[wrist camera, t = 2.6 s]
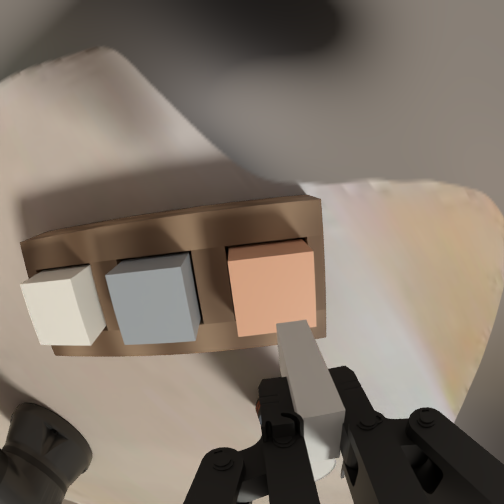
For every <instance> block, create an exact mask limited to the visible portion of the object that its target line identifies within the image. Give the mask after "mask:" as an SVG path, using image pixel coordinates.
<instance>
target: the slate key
mask: <svg viewBox="0 0 504 504" xmlns="http://www.w3.org/2000/svg"><path fill="white" fill-rule="evenodd" d="M105 277H106V281H107V285H108V289H109V293H110V297H111V300H112V304H113V308H114V311H115V315H116V318H117V322H118V325H119V328H120V332H121V335H122V338H123V341H124V344H125V345H136V344H158V343H175V342H189V341H196V337H197V332H198V328H199V324H200V319H201V315H200V310H199V304H198V299H197V294H196V288H195V282H194V277H193V271H192V265H191V259H190V253H189V252H185V253H176V254H168V255H160V256H152V257H144V258H135V259H127V260H123V261H121V262H120V263H119V264H118V265H117V266H115V267H114V268H113V269H112V270H111V271H110V272H108V273H107V274H106V275H105Z"/></svg>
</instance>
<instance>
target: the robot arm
mask: <svg viewBox="0 0 504 504" xmlns="http://www.w3.org/2000/svg"><path fill="white" fill-rule="evenodd" d="M276 328H277V340H278V352H279V364H280V371H281V376H282V377H279V378H271V379H263V380H262V382H261V384H260V386H259V388H258V389H259V399H260V410H261V420H262V424H261V430H262V436H261V439H260V440H259V441H258V442H257V443H256V444H255V445H253V446H252V447H249V448H247V449H244V450H241V451H237V450H235V449H232V448H228V447H223V448H217V449H213V450H211V451H210V452H208V453H207V454H206V455H205V456H204V458H203V459H202V461H201V464H200V466H199V468H198V471H197V473H196V475H195V478H194V480H193V482H192V485H191V487H190V489H189V492H188V494H187V496H186V498H185V501H184V503H183V504H252V501H253V500H255V499H258V498H261V497H264V496H266V495H269V502H270V504H320V501H319V497H318V493H317V489H316V485H315V480H314V476H313V472H312V468H311V464H310V463H314V462H319V461H324V460H329V459H334V458H339V456H340V450H341V453H342V456H343V464H342V470H341V478H344V475H345V477H346V480H347V483H348V486H349V489H350V492H351V495H352V499H353V502H354V504H504V464H502V463H501V462H500V461H499V460H497V459H496V458H495V457H494V456H493V455H491V454H490V453H489V452H488V451H487V450H485V449H484V448H483V447H482V446H480V445H479V444H478V443H477V442H476V441H474V440H473V439H472V438H471V437H470V436H468V435H467V434H466V433H465V432H463V431H462V430H461V429H460V428H459V427H457V426H456V425H455V424H454V423H453V422H451V421H450V420H449V419H448V418H447V417H445V416H444V415H443V414H442V413H440V412H439V411H437V410H436V409H433V408H428V407H427V408H420V409H417V410H415V411H414V412H413V413H412V414H411V415H410V417H409V419H388V418H385V417H384V416H383V415H382V414H381V413H379V412H377V411H375V410H374V409H373V407H372V405H371V403H370V402H369V400H368V398H367V396H366V394H365V392H364V390H363V388H362V387H361V385H360V383H359V381H358V379H357V377H356V375H355V373H354V372H353V371H352V370H351V369H349V368H348V367H346V366H341V367H336V368H331V369H328V368H327V366H326V364H325V361H324V359H323V357H322V354H321V352H320V350H319V347H318V345H317V343H316V341H315V338H314V336H313V334H312V331H311V329H310V327H309V325H308V322H307V320H299V321H292V322H285V323H277V324H276ZM91 460H92V451H91V448H90V446H89V445H88V443H87V442H86V440H85V439H84V438H83V437H82V435H81V434H80V433H79V432H78V431H77V430H76V429H75V428H74V427H72V426H71V425H70V424H69V423H68V422H66V421H65V420H64V419H62V418H61V417H59V416H58V415H56V414H55V413H53V412H51V411H49V410H48V409H46V408H43V407H41V406H38V405H35V404H30V403H24V404H21V405H19V406H18V407H17V409H16V410H15V411H14V413H13V414H12V416H11V424H10V428H9V431H8V435H7V439H6V443H5V445H4V447H3V448H2V450H1V449H0V504H62V502H63V499H64V496H65V494H66V492H67V489H68V487H69V486H70V485H71V484H72V483H73V482H74V481H75V480H76V479H77V478H78V477H79V476H80V475H81V474H82V473H84V472H85V471H86V470H87V469H88V467H89V465H90V463H91Z"/></svg>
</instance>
